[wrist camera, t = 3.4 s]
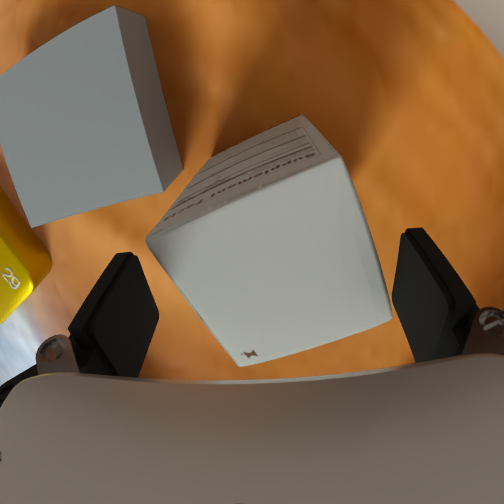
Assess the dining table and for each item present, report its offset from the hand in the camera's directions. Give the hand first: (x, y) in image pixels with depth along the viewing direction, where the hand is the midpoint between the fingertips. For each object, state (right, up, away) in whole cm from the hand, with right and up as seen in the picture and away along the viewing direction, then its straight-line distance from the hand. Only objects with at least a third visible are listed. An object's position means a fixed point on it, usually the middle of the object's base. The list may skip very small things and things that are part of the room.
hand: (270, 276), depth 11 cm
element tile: (-30, +2, +16) cm, 34 cm away
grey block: (-13, +11, +9) cm, 19 cm away
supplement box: (+1, +6, +11) cm, 13 cm away
